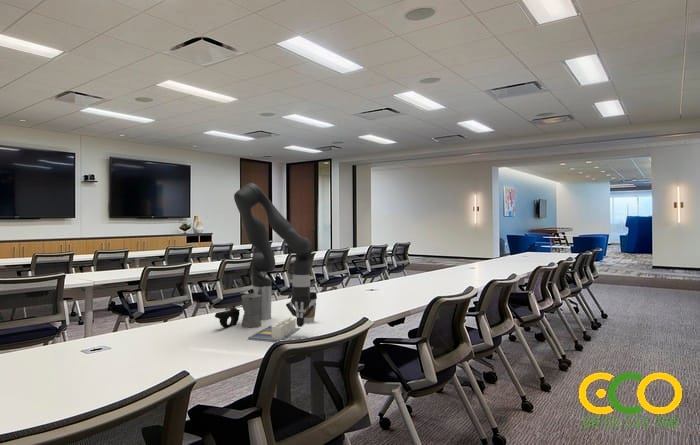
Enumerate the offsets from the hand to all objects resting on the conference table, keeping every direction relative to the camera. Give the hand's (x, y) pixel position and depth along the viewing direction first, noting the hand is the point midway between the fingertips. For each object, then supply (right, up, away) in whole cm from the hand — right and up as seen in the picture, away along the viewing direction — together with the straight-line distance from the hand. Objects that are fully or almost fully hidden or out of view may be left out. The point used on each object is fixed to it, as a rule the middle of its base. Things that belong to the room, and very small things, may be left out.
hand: (300, 326), depth 186 cm
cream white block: (-7, -4, +2) cm, 9 cm away
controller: (-35, -5, +16) cm, 39 cm away
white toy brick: (-9, -4, -4) cm, 10 cm away
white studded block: (-6, -4, +9) cm, 11 cm away
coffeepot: (-24, -5, +18) cm, 30 cm away
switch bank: (-11, -5, +3) cm, 13 cm away
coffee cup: (0, -5, +27) cm, 28 cm away
